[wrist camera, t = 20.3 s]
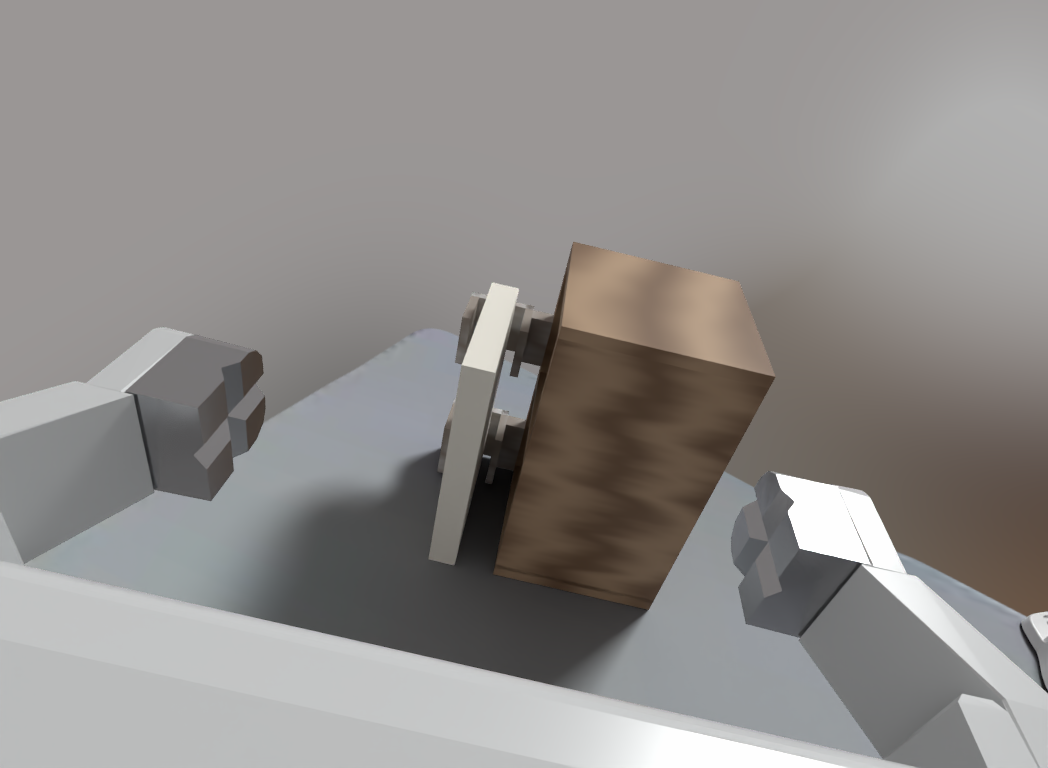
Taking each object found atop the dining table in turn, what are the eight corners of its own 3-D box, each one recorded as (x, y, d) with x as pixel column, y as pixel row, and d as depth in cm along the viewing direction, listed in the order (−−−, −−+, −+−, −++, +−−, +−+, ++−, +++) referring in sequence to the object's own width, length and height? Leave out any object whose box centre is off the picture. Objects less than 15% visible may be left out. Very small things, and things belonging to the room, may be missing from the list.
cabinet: (642, 490, 57) (737, 277, 44) (648, 609, 46) (775, 376, 34) (446, 445, 56) (485, 217, 44) (409, 555, 46) (446, 298, 33)
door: (480, 466, 55) (519, 288, 45) (454, 565, 46) (495, 372, 36) (458, 460, 55) (492, 282, 45) (428, 559, 46) (461, 364, 36)
